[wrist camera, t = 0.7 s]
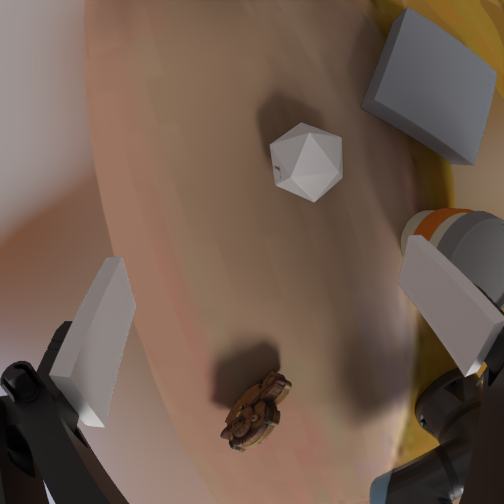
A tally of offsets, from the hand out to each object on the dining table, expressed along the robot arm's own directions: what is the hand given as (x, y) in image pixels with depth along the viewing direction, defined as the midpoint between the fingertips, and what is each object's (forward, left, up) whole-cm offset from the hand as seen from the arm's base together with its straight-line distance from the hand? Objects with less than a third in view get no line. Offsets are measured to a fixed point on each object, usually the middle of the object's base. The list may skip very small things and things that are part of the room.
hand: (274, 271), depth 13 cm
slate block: (-14, -25, -27) cm, 39 cm away
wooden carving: (-10, +29, -27) cm, 41 cm away
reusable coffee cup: (-23, -5, -27) cm, 36 cm away
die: (-2, -7, -27) cm, 28 cm away
